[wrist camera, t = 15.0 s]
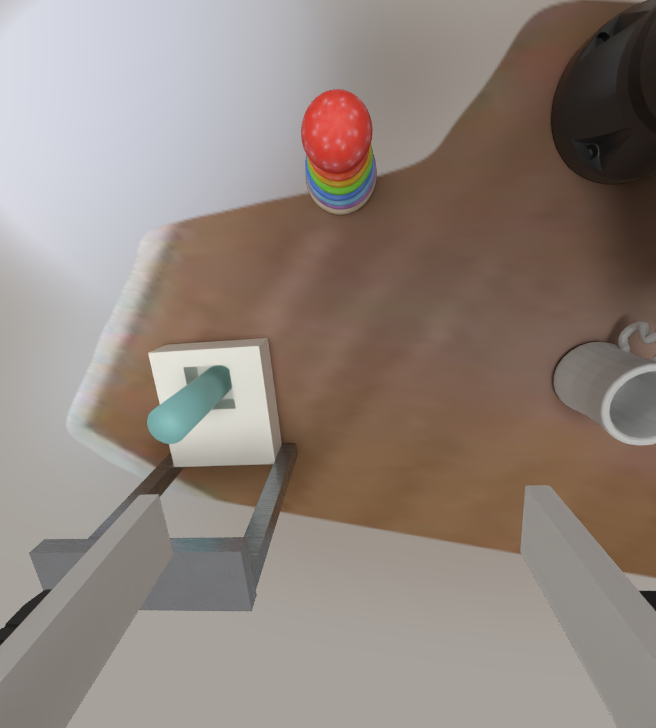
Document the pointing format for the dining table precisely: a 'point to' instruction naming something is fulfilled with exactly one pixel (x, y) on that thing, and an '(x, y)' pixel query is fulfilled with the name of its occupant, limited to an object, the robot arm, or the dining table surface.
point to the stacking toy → (338, 152)
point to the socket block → (224, 402)
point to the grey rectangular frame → (190, 549)
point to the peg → (189, 405)
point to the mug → (612, 386)
